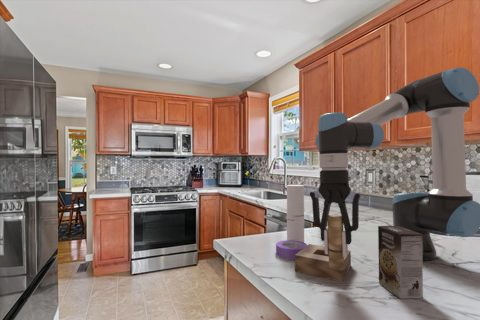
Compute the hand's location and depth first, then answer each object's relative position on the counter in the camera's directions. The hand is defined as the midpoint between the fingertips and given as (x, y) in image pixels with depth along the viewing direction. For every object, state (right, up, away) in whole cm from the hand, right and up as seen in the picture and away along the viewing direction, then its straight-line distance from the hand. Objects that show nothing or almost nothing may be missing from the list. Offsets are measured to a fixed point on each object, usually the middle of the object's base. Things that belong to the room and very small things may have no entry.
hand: (336, 253), depth 72 cm
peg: (0, -4, 0) cm, 4 cm away
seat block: (0, -9, +12) cm, 15 cm away
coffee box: (+16, -9, -3) cm, 18 cm away
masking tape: (-7, -10, +26) cm, 29 cm away
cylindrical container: (-3, -10, +38) cm, 39 cm away
